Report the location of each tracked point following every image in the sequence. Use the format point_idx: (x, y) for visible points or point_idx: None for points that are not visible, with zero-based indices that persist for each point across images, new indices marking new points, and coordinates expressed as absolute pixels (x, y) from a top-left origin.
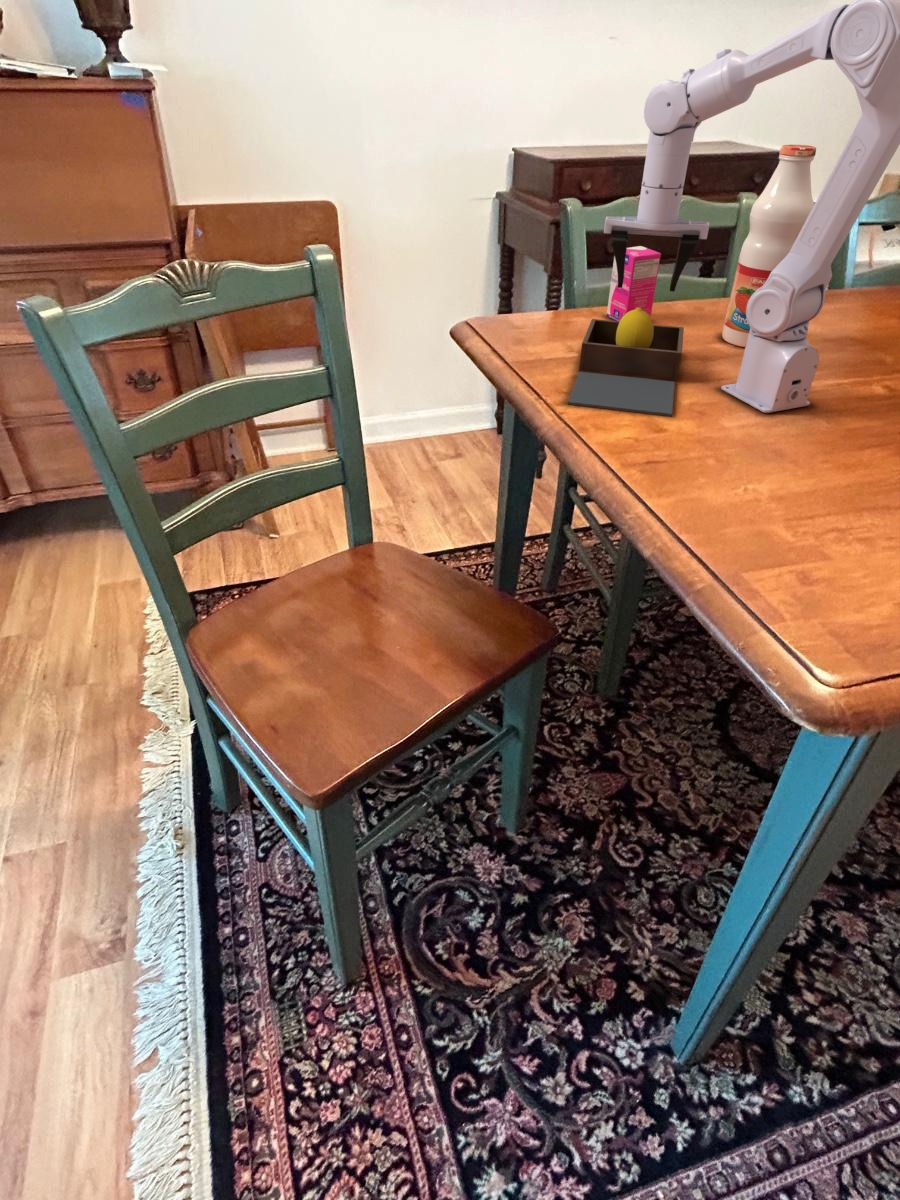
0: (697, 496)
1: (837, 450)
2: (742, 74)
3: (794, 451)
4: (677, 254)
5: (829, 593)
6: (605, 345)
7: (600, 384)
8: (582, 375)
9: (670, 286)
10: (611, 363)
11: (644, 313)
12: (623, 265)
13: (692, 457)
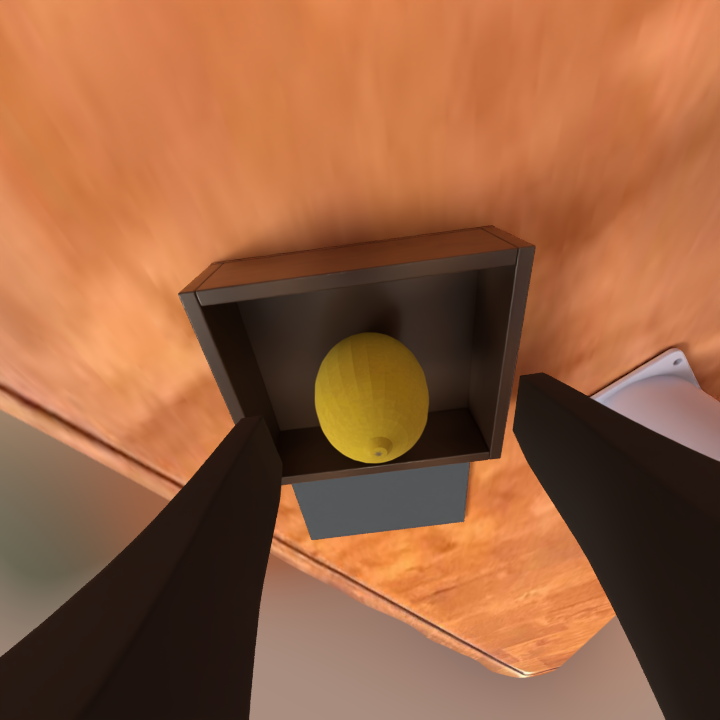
0: (482, 611)
1: None
2: None
3: None
4: (675, 590)
5: (552, 645)
6: (318, 479)
7: (338, 481)
8: None
9: (523, 430)
10: None
11: (401, 450)
12: (258, 594)
13: (483, 575)
